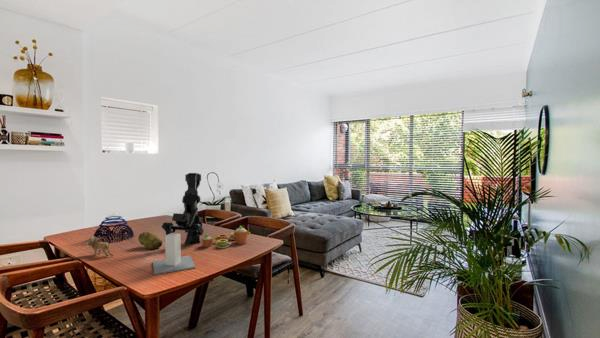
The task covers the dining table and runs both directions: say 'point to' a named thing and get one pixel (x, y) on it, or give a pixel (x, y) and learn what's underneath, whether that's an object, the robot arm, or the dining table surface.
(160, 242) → the potato
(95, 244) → the lion figurine
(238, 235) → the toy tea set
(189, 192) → the robot arm
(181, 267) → the rubber mat
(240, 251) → the dining table surface
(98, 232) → the decorative bowl
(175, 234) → the tall block
